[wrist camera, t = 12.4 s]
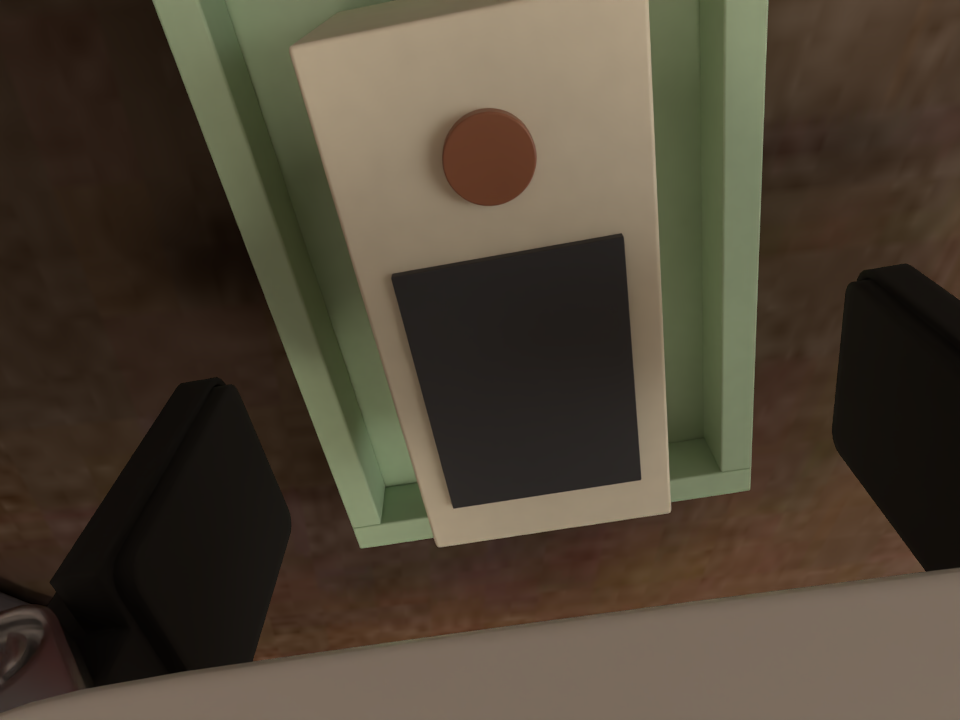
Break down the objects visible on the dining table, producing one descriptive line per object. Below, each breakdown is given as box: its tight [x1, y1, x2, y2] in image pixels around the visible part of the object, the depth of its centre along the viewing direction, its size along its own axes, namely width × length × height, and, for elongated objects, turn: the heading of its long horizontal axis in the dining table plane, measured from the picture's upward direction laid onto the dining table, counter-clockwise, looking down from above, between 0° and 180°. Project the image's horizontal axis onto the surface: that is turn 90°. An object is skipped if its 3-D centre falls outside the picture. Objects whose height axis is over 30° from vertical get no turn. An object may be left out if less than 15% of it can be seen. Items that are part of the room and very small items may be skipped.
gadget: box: [289, 0, 671, 547], centre depth 14 cm, size 10×5×5 cm, turn 10°
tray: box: [152, 0, 768, 548], centre depth 16 cm, size 16×11×2 cm
